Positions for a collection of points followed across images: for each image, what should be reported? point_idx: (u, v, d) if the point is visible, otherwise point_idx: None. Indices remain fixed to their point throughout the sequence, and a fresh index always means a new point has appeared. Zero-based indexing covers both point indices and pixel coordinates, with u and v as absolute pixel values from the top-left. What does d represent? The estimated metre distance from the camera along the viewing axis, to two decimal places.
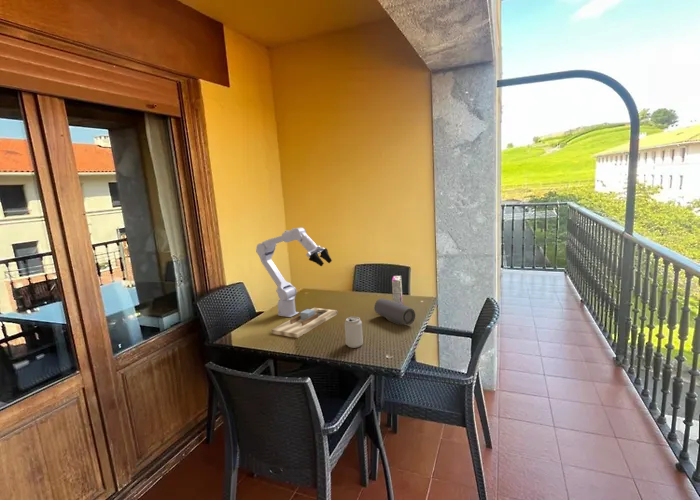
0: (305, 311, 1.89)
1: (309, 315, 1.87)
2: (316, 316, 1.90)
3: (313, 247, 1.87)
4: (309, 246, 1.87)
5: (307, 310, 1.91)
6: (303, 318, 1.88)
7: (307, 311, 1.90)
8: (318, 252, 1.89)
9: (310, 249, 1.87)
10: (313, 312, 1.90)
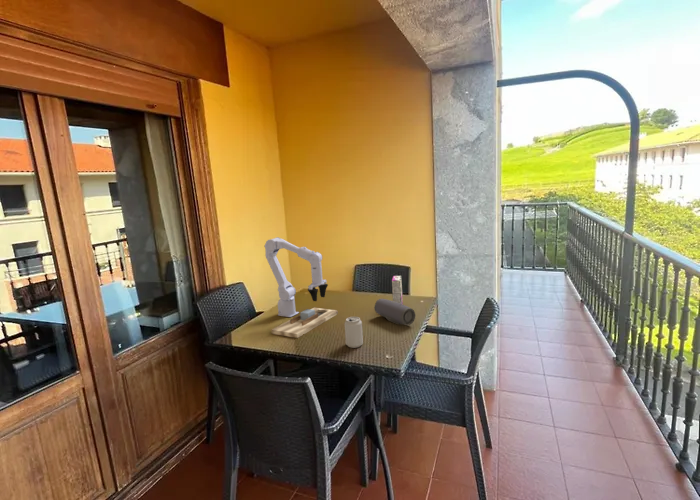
0: (305, 311, 1.89)
1: (309, 315, 1.87)
2: (316, 316, 1.90)
3: (318, 281, 1.94)
4: (315, 278, 1.94)
5: (307, 310, 1.91)
6: (303, 318, 1.88)
7: (307, 311, 1.90)
8: (319, 285, 1.98)
9: (314, 281, 1.94)
10: (313, 312, 1.90)
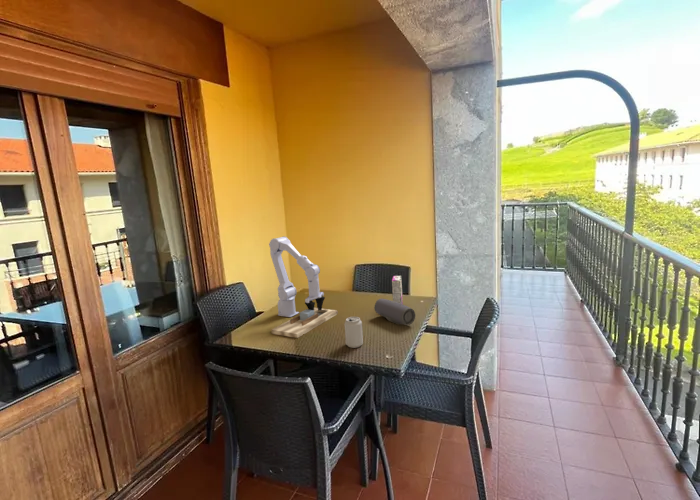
0: (304, 311, 1.89)
1: (308, 315, 1.86)
2: (316, 316, 1.90)
3: (315, 294, 1.92)
4: (312, 291, 1.92)
5: (306, 310, 1.90)
6: (302, 318, 1.87)
7: (306, 311, 1.89)
8: None
9: (311, 294, 1.92)
10: (312, 312, 1.89)
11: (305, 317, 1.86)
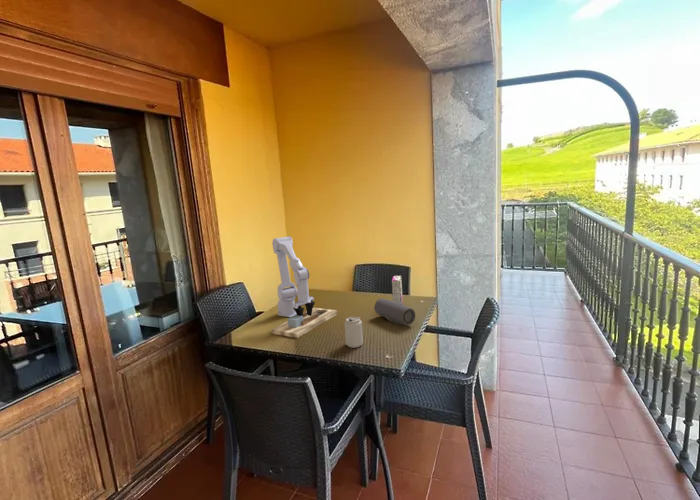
0: (293, 317, 1.80)
1: (297, 322, 1.78)
2: (316, 316, 1.90)
3: (304, 299, 1.84)
4: (301, 296, 1.83)
5: (295, 316, 1.82)
6: (291, 325, 1.79)
7: (295, 317, 1.81)
8: None
9: (300, 299, 1.84)
10: (301, 318, 1.81)
11: (293, 323, 1.78)
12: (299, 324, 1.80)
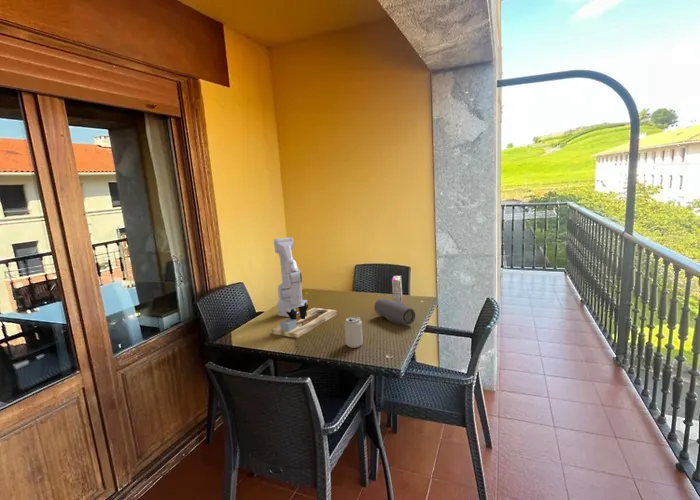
0: (285, 321, 1.76)
1: (290, 325, 1.73)
2: (316, 316, 1.90)
3: (297, 303, 1.79)
4: (294, 299, 1.78)
5: (288, 320, 1.77)
6: (283, 329, 1.74)
7: (288, 321, 1.76)
8: None
9: (293, 302, 1.79)
10: (294, 322, 1.76)
11: (286, 327, 1.73)
12: (292, 328, 1.75)
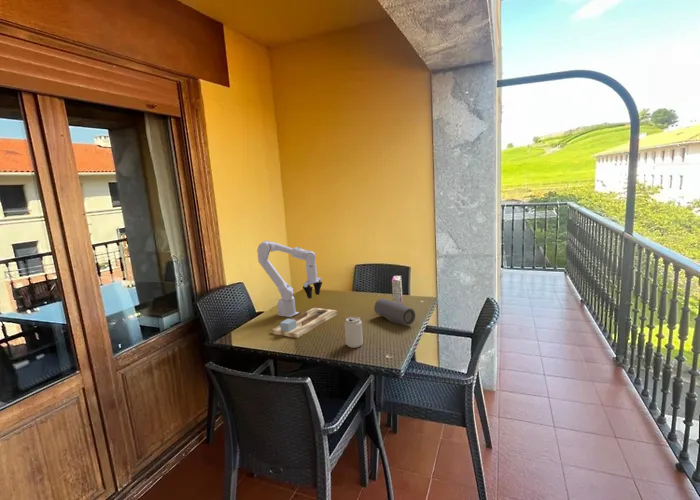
0: (285, 321, 1.76)
1: (289, 326, 1.73)
2: (316, 316, 1.90)
3: (313, 279, 2.00)
4: (310, 276, 2.00)
5: (288, 320, 1.77)
6: (283, 329, 1.74)
7: (288, 321, 1.76)
8: (314, 282, 2.04)
9: (309, 279, 2.00)
10: (294, 322, 1.76)
11: (286, 327, 1.73)
12: (292, 328, 1.75)
